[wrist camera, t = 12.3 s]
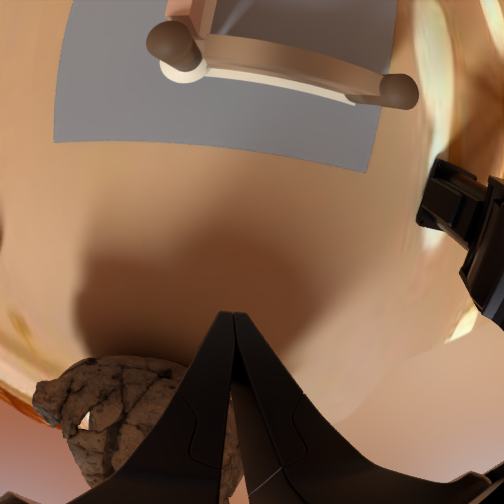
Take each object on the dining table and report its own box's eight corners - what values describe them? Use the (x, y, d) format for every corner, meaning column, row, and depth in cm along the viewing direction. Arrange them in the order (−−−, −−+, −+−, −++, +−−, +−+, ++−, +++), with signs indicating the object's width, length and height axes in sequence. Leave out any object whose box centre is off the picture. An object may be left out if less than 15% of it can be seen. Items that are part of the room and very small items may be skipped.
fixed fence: (367, 82, 16) (421, 82, 10) (362, 106, 17) (415, 114, 11) (175, 45, 14) (150, 21, 8) (170, 72, 15) (142, 59, 9)
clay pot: (256, 417, 38) (271, 540, 20) (118, 416, 37) (104, 525, 19) (246, 302, 25) (278, 558, 7) (40, 309, 24) (-28, 472, 6)
